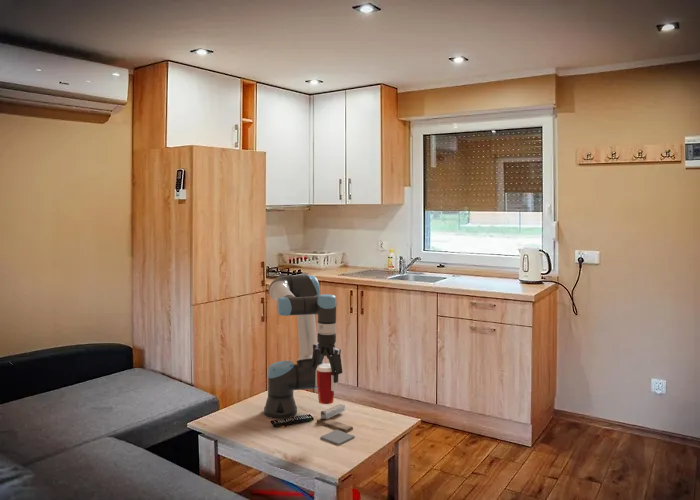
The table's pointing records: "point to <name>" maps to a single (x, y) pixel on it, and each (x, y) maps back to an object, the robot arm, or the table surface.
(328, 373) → the coffee cup
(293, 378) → the robot arm
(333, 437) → the slate pad
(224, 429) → the table surface
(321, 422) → the base
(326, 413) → the bar
